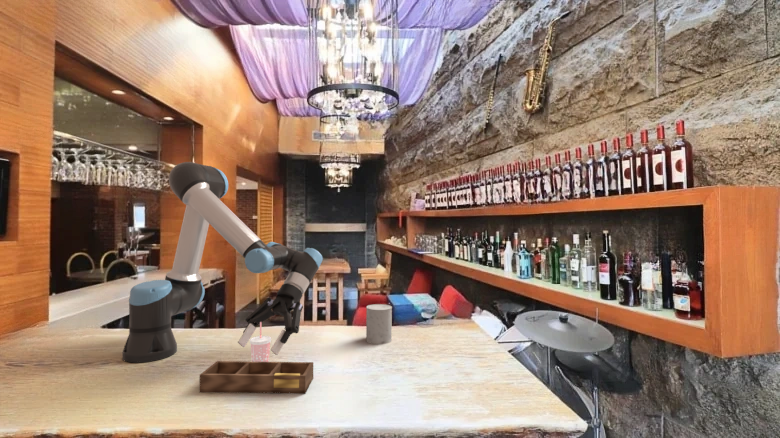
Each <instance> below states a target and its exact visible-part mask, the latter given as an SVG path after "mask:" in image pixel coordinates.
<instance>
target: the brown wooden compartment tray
mask: <svg viewBox="0 0 780 438" xmlns="http://www.w3.org/2000/svg"><path fill="white" fill-rule="evenodd" d="M313 380H314V362H313V361H311V362H310V361H269V362H252V361H249V360H248V361H245V360H244V361H243V360H242V361H241V360H240V361H239V360H238V361H236V360H234V361H233V360H231V361H230V360H227V361H226V360H223V361H222V360H217V361H215V362H214V363H212V364H211V365H210V366H209V367H208V368H206V369H205V370H204V371H203V372H202V373H200V374H199V393H208V394H209V393H211V394H213V393H217V394H218V393H219V394H223V393H224V394H229V393H230V394H233V393H234V394H238V393H239V394H284V395H285V394H286V395H287V394H289V395H290V394H294V395H295V394H298V395H299V394H301V395H302V394H303V395H304V394H305V395H306V393H307V391H308V390H309V388H310V385H311V384H312V382H313Z"/></svg>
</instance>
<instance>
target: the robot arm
mask: <svg viewBox="0 0 780 438" xmlns="http://www.w3.org/2000/svg"><path fill="white" fill-rule="evenodd" d="M228 180H229V179H228V178H227V176H226V174H225V173H224V171H222V170H221V169H219V168H216V167H214V166H211V165H206V164H202V163H196V162H193V161H184V162H180V163H177V164H176V165H175V166H174V167H173V168H172V169H171V170H170V171H169V174H168V183H169V184H168V185H169V187H170V190H171V191H172V193H174V195H175V196H176V197H177V198H178V199H179V201H181V202H182V203H183V204H184V205H185V211H184V213H183V220H182V224H181V227H180V231H179V236H178V241H177V246H176V250H175V254H174V259H173V263H172V269H171V270H168V271H167V272H166V274H165V277H164V279H156V280H155V279H154V280H150V281H149V280H148V281H143V282H140V283H137V284H136V285H135V284H134V286H133V287H132V288H130V291H129V299H128V303H129V304H128V305H129V309H128V313H129V316H128V317H129V321H128V323H129V325H128V326H129V328H128V329H129V331H128V332H129V333H128V336H127V339H126V341H125V344H124V347H123V349H122V356H121V357H122V358H121V359H122V361H124V360H125V361H124V362H126V361H128V362H127V363H149V362H153V361H154V362H155V361H158V360H163V359H166V358H168V357H171V356H173V355H175V354H176V353H177V352H178V345H177V344H178V343H177V341H176V339H175V335H174V333H173V330H172V317H173V316H176V315H178V314H181V313H185V312H189V311H191V310H193V309H194V308H196V307H198V306H199V305H200V304H201V303H202V301H203V299H204V297H205V294H206V293H205V292H206V290H205V286H203V284H204V283H203V282H202V279H203V277H202V276H201V275H200V272H199V271H200V267H201V262H202V258H203V255H204V254H203V253H204V250H205V244H206V239H207V235H208V232H209V231H208V230H209V227H210V226H211V227H212V228H214V230H215V231H216V232H217V233H218V234H219V235H220V236H221V237H222V238H223V239H224V240H226V242H227V243H228V244H230V245H231V246H232V247H233V248H234V249H235V250H236V252H238V254H240V256H242V257H243V258H244V263H245V267H246V269H247V270H248V271H249V272H250V273H253V274H264V273H268V272H270V271H272V270H277V269H282V270H284V271H288V272H289V273H288V275H287V277H286V278H285V280H283V284H281V286H280V288H279V290H278V291H277V293H276V295H277V296H276V298H274V299H272V298H271V297H267V298H266V300H264V302H263V303H262V304H261V305H260V306H259V307H258V308H256V309H255V310H254V311H253V312H251V314H250V315H248V316H247V317H246V318H245V322H247V325H246V326H245V328H244V330H243V332H242V334H241V337H240V338H239V339H238V341H237V343H238V344H239V346H241V347H243V348H245V347H246V345H247V343H249V342H250V339H251V338H252V336H253V334H254V333H255V331H256V329H257V326H258V325H260V322H262V323H263V322H264V321H266V320H268V319H269V318H271V317H274V316H276V315H277V316H282V317H283V322H284V329H281V330H280V333H279V334H278V337H277V338H276V340H275V341H274V343H273V345H272V347H270V351H271V352H272V354H274V355H276V356H278V354H279V353H280V351H281V349H282V348H283V346H284V345H285V344H286V343H287V342H288V340H289V338H290V336H291V335H293V334H298V333H299V331H300V322H301V315H302V314H301V313H302V311H303V309H304V306H303V304H302V303H301V302H300V301H301V299H302V298H303V295H304V294H305V293H306V291H307V289H308V287H309V286H310V284H311V282H312V280H313V279H314V277H315V275H316V274H317V272H318V271H319V269H320V266H321V264H322V262H323V260H324V257H323V255H322V254H321V253H320V252H319V251H318V250H317V249H315V248H313V247H311V248H310V247H306V248H305V249H304V250H302V251H300V250H296V249H294V248H290V247H288V246H286V245H283V244H281V243H277V242H274V241H270V242H268V243H267V244H266V243H265V242H264V241H263V240H262V239H261V238H260V237H259V236H258V235H257V234H256V233H255V232H254V231H252V229H250V228H249V226H248V225H247V224H246V223H244V222H243V220H241V219H240V218H239V217H238V216H237V215H236V214H235V213H234V212H233V211H232V210H231V209H230V208H229V206H227V205H226V204H225V203H224V202H223V201H222V200H221V199H222V198H223V197H224V196H225V195H226V194H227V193H228V190H229V181H228ZM292 311H293V312H292ZM148 361H149V362H148Z"/></svg>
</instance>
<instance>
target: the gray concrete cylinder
mask: <svg viewBox="0 0 780 438" xmlns="http://www.w3.org/2000/svg"><path fill="white" fill-rule="evenodd" d="M365 308H366V311H365V312H366V313H365V314H366V319H365V320H366V323H365V325H366V328H365V330H366V331H365V332H366V333H365V339H366V340H365V341H366V342H367V343H369V344H372V345H384V344H389V343H391V342H392V341H393V340H392V339H393V338H392V334H393V333H392V332H393V331H392V329H393V328H392V324H393V323H392V320H393V318H392V317H393V316H392V314H393V313H392V312H393V310H392V309H393V306H391V305H390V304H385V303H382V304H381V303H375V304H374V303H373V304H368V305H366V307H365Z"/></svg>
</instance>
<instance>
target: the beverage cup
mask: <svg viewBox="0 0 780 438" xmlns="http://www.w3.org/2000/svg"><path fill="white" fill-rule="evenodd" d="M262 323H263V322H260V324H259V335H257V336H253V337H251V338H250V339H249V344H250V355H251V362H270V351H271V342H272V337H271V336H269V335H262V326H263V325H262Z"/></svg>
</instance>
